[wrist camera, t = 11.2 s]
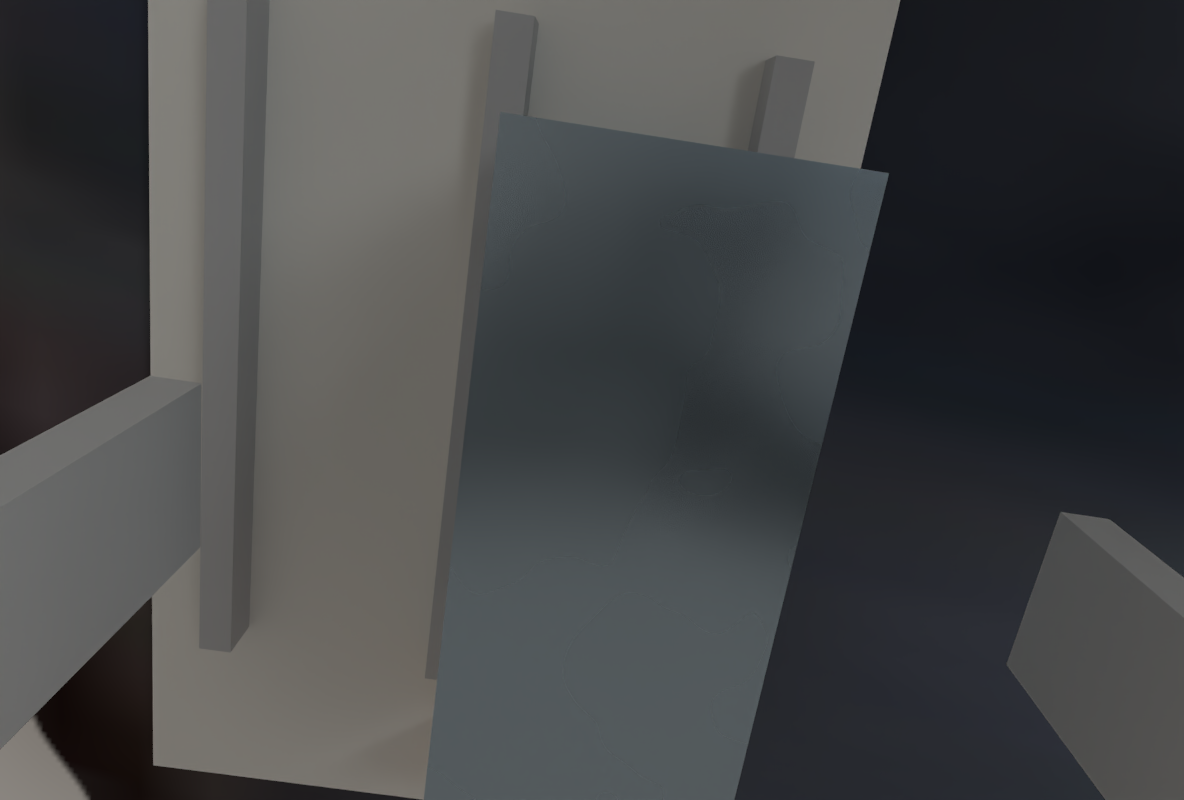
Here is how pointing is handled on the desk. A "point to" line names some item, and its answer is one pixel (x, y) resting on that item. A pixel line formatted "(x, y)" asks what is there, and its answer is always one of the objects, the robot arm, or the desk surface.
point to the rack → (387, 314)
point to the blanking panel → (636, 457)
